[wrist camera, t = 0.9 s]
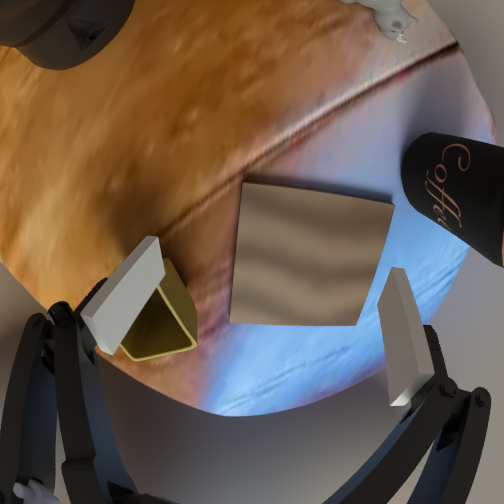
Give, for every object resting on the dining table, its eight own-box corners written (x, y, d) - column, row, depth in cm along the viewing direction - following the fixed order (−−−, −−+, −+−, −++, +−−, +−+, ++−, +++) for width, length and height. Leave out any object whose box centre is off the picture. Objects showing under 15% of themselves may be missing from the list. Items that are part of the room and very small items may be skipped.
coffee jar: (402, 121, 25) (527, 142, 9) (460, 143, 26) (565, 178, 10) (389, 206, 30) (491, 283, 14) (446, 216, 31) (537, 280, 15)
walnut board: (242, 181, 28) (242, 182, 27) (391, 202, 30) (395, 205, 29) (229, 317, 36) (229, 322, 35) (353, 321, 38) (355, 325, 37)
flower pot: (116, 262, 32) (86, 303, 23) (174, 237, 31) (154, 278, 23) (150, 314, 35) (133, 362, 27) (206, 297, 34) (199, 347, 26)
